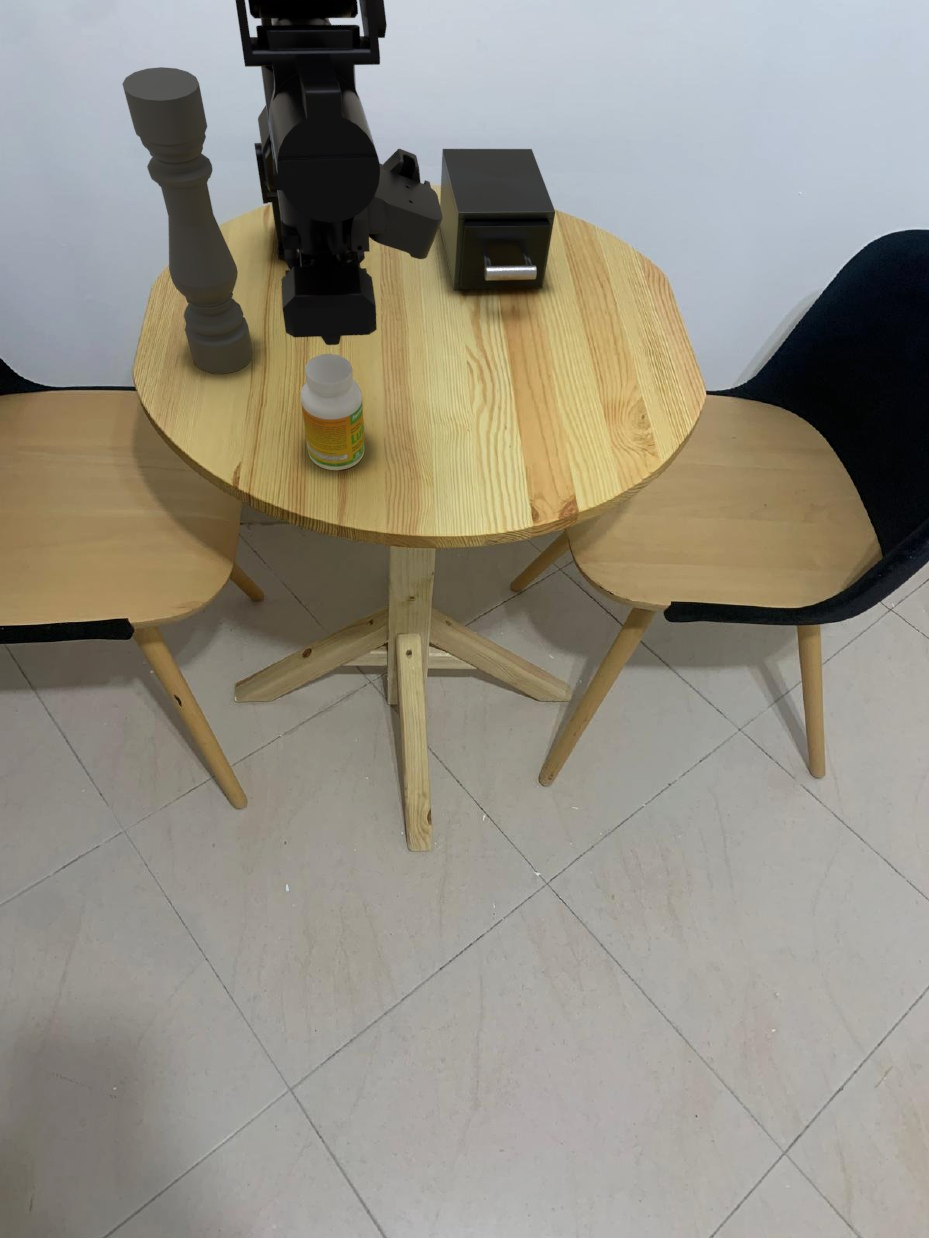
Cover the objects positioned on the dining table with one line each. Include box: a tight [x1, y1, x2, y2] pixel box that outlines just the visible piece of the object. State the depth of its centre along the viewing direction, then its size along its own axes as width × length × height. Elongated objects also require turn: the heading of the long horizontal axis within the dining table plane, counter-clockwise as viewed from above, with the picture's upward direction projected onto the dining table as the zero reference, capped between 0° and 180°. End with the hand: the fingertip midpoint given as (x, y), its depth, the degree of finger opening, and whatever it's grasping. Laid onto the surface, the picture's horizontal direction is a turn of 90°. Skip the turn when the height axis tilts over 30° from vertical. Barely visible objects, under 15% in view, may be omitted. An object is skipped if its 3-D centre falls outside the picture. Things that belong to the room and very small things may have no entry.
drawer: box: [459, 219, 551, 290], centre depth 88 cm, size 17×9×7 cm, turn 8°
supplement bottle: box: [300, 353, 366, 471], centre depth 70 cm, size 5×5×10 cm
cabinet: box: [439, 148, 556, 291], centre depth 90 cm, size 14×11×9 cm
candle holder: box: [122, 66, 254, 375], centre depth 70 cm, size 6×6×25 cm
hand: (332, 342), depth 64 cm, fingers closed
